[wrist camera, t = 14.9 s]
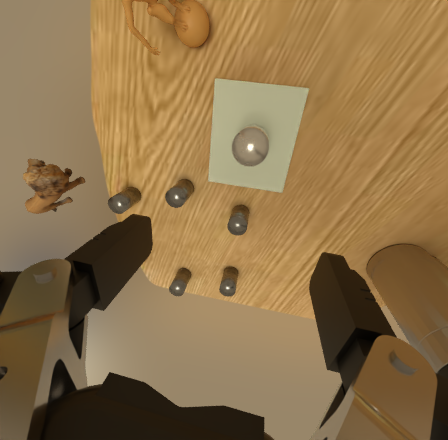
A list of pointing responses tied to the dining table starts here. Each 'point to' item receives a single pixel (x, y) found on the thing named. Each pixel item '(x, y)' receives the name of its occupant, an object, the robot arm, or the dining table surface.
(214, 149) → the sage mat
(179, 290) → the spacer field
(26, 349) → the robot arm
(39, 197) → the lion figurine
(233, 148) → the clear rounded cylinder
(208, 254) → the dining table surface
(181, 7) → the figurine
